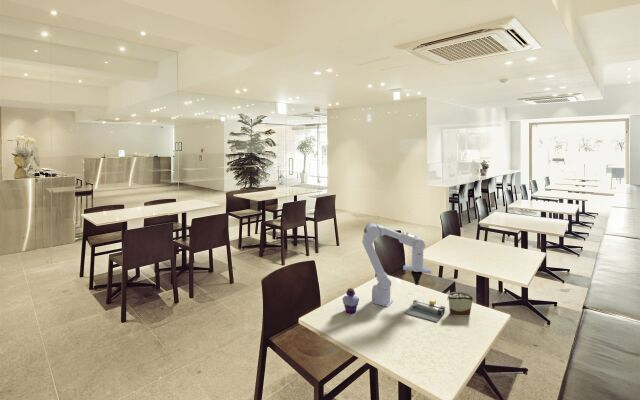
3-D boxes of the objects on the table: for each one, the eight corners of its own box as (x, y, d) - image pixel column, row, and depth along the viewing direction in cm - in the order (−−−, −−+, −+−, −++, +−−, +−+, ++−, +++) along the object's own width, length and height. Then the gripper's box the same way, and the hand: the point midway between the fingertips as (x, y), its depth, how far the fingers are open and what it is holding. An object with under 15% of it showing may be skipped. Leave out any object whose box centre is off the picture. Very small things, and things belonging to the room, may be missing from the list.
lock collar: (429, 305, 169) (429, 300, 168) (431, 302, 171) (431, 298, 171) (434, 306, 167) (434, 302, 167) (435, 304, 170) (435, 300, 169)
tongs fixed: (413, 305, 174) (413, 300, 174) (414, 303, 176) (414, 299, 175) (443, 313, 165) (444, 308, 165) (444, 311, 167) (445, 306, 167)
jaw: (411, 307, 172) (412, 300, 171) (414, 305, 174) (414, 299, 173) (441, 316, 162) (441, 309, 162) (443, 314, 164) (443, 307, 164)
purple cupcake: (359, 307, 174) (359, 285, 172) (359, 315, 166) (359, 293, 164) (342, 307, 175) (342, 285, 173) (342, 315, 167) (341, 292, 165)
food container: (468, 309, 169) (469, 291, 168) (472, 315, 163) (474, 296, 162) (443, 309, 170) (444, 290, 169) (447, 315, 164) (447, 296, 163)
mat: (404, 313, 167) (404, 312, 167) (413, 303, 177) (413, 302, 177) (437, 322, 158) (437, 321, 158) (444, 311, 168) (444, 310, 168)
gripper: (401, 260, 176) (401, 284, 178) (430, 264, 169) (429, 289, 171) (405, 256, 182) (404, 279, 184) (432, 260, 175) (432, 284, 177)
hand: (416, 284), depth 178 cm, fingers closed
